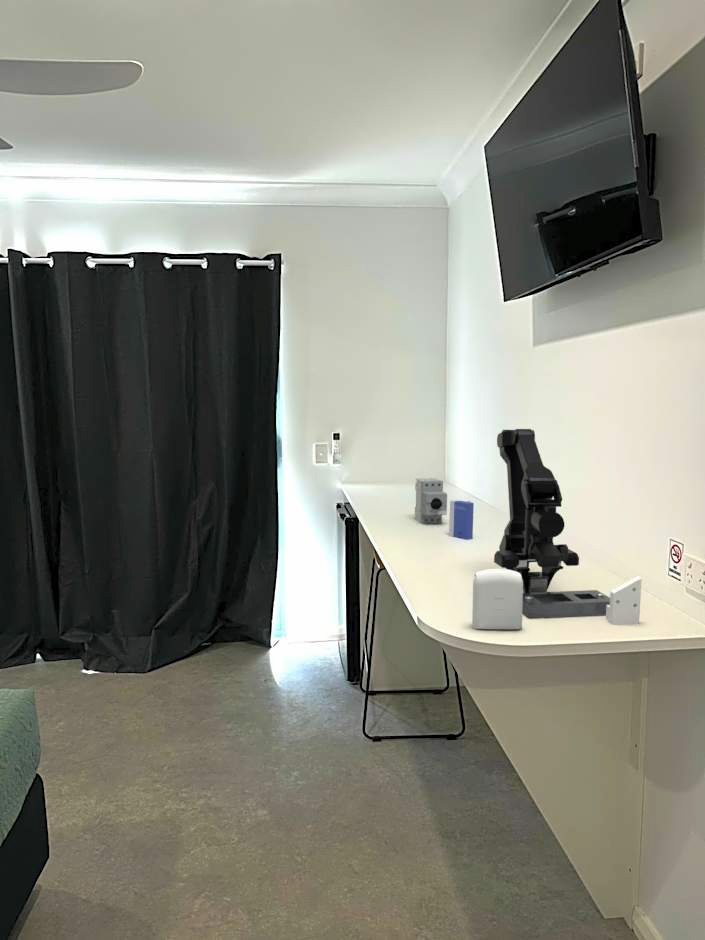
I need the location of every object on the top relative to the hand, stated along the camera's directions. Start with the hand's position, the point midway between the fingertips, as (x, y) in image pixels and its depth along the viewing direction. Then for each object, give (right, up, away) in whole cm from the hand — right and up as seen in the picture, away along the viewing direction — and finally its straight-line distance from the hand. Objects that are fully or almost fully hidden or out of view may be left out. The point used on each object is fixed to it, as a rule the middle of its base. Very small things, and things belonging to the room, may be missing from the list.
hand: (534, 594), depth 177 cm
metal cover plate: (+4, -2, -8) cm, 10 cm away
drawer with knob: (0, -1, 0) cm, 1 cm away
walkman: (-8, +7, +68) cm, 69 cm away
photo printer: (-13, -4, -20) cm, 24 cm away
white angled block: (+15, -4, -15) cm, 22 cm away
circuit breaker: (-15, +10, +92) cm, 94 cm away
